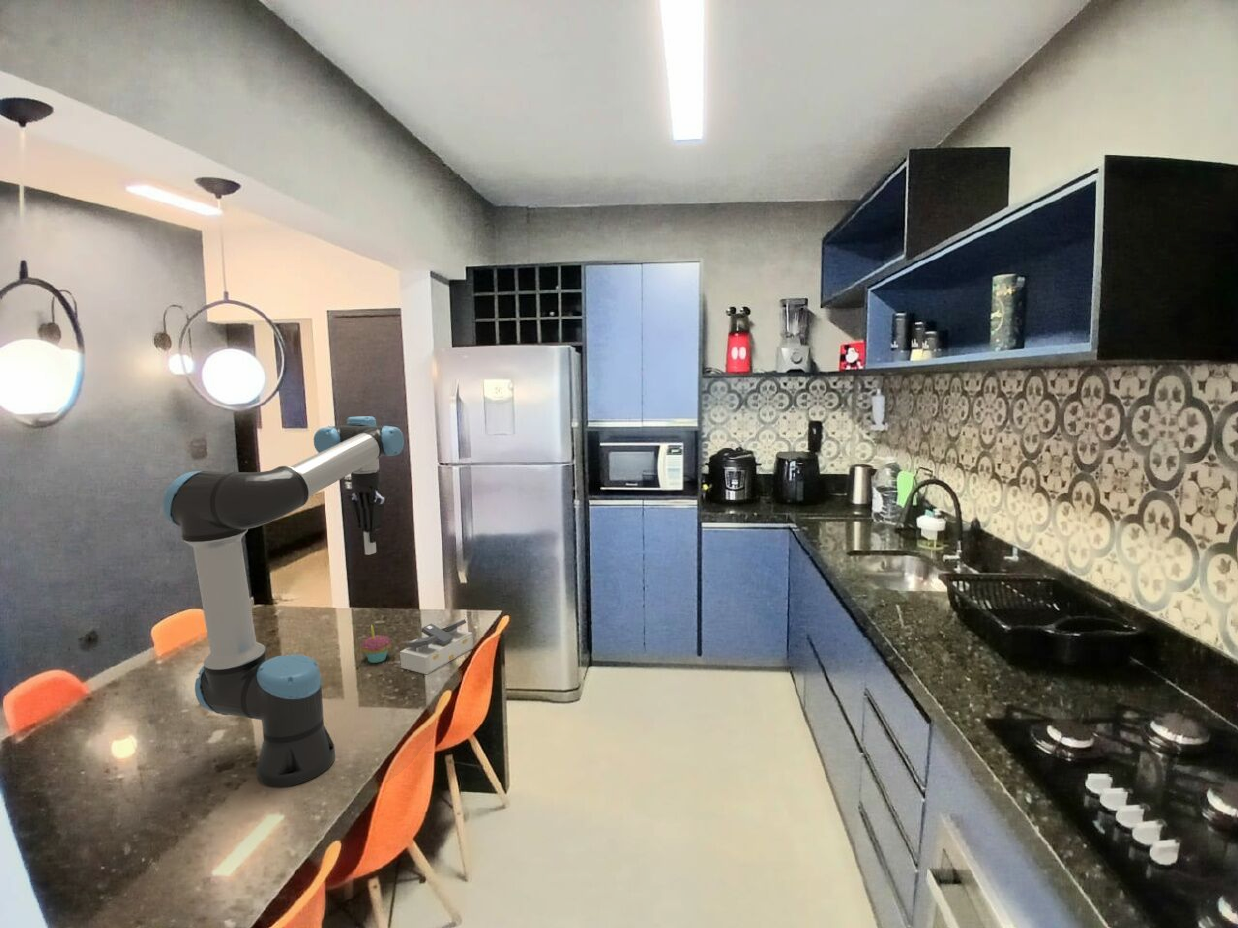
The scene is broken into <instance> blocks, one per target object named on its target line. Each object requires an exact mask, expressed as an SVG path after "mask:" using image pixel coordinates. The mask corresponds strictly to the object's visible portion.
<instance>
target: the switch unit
mask: <svg viewBox="0 0 1238 928" xmlns="http://www.w3.org/2000/svg"><path fill="white" fill-rule="evenodd" d="M446 633H448V634H449V635H451V636H453V640H452V641H450V642H448V643H446V644H445V645H442V644H440V643H439V642H437V641H435V642H433V643H431V644H429V645H423V646H416V647H409V648H407V647H406V648H404V649H403V650H400V651H399V653H400V654H399V655H400V656H399V657H400V668H401V669H405V670H408V671H413V672H416V673H420V674H424V675H428V674H430V673H432V672H434V671H436V670H438V669H439V668H441V667H443V666H445V665H446V664H447V663H449V662H451V661H453V660H455V659H457V658H458V657H460V656H462V655H464V654H465V653H467V652H469V651H471V650H472V649H474V638H473V637H474V636H473V635H474V634H473V632H470V631H466V630H461V629H458V627H457V628H454V629H452V630H449V631H447V632H446Z"/></svg>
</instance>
